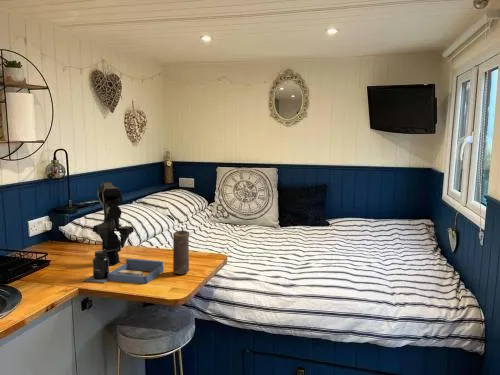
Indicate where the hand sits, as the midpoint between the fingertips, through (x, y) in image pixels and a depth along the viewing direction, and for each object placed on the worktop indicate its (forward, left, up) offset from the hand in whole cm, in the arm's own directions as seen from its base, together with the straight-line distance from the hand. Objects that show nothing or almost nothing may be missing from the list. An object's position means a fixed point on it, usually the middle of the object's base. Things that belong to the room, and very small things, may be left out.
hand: (113, 246), depth 179 cm
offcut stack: (+11, -6, -13) cm, 18 cm away
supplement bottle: (-2, -8, -12) cm, 15 cm away
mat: (-2, -8, -13) cm, 15 cm away
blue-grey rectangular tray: (+12, 0, -13) cm, 17 cm away
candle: (+31, +7, -13) cm, 34 cm away
